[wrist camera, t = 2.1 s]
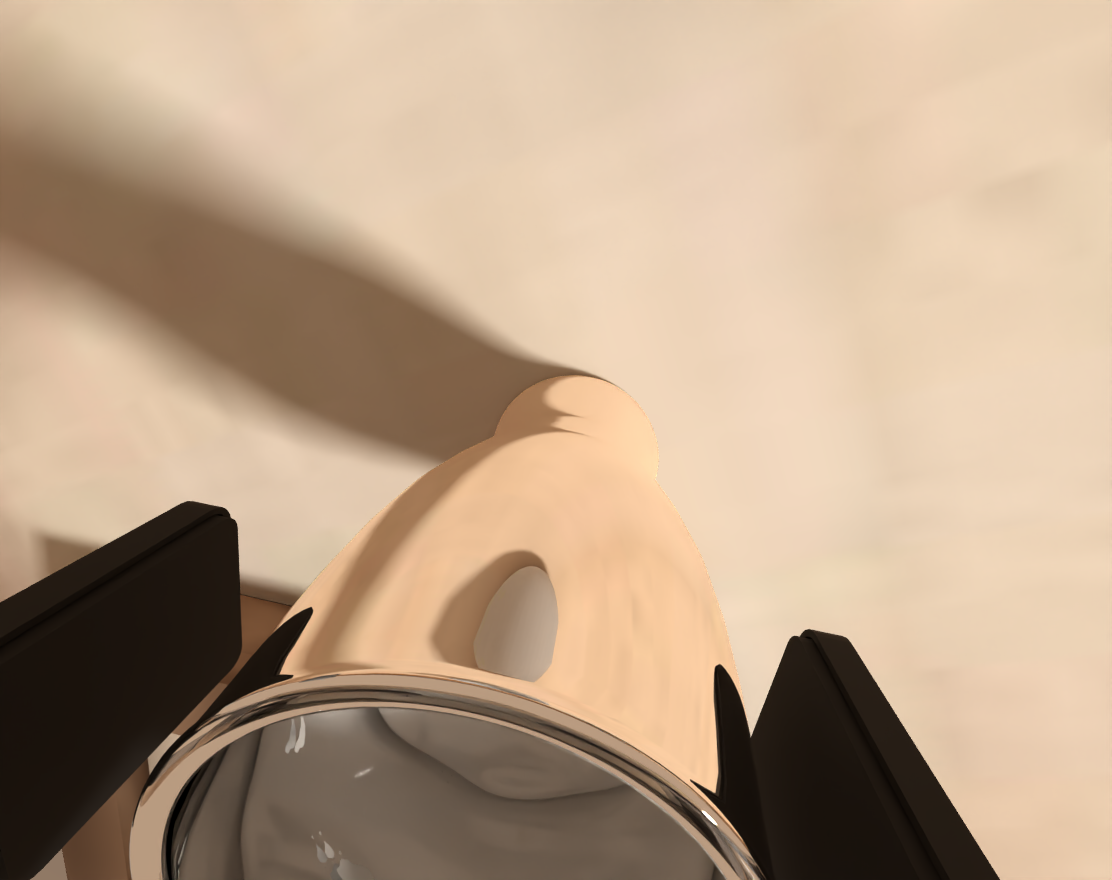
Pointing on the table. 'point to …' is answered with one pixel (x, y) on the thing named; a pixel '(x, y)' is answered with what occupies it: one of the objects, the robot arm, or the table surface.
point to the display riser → (105, 837)
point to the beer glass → (484, 687)
